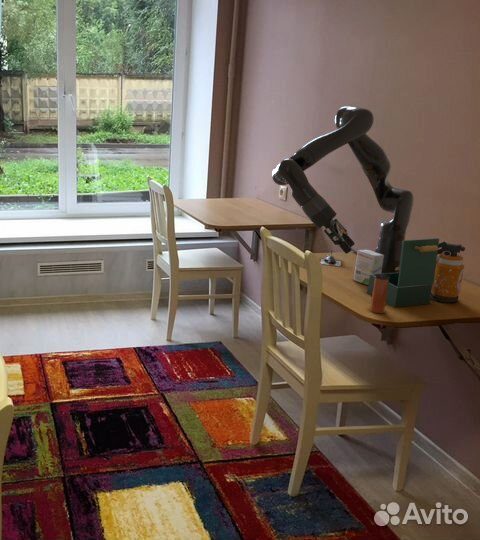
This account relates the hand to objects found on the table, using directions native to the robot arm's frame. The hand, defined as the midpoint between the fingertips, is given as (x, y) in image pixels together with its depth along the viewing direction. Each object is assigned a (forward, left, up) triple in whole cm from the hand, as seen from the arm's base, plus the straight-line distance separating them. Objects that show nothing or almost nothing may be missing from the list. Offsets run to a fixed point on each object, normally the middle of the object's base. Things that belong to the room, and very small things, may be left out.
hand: (350, 248), depth 196 cm
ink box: (-19, +23, -20) cm, 36 cm away
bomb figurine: (-45, +25, -20) cm, 55 cm away
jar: (+7, +8, -20) cm, 22 cm away
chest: (-2, +23, -20) cm, 30 cm away
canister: (+2, +37, -20) cm, 42 cm away
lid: (+4, +23, -5) cm, 24 cm away
